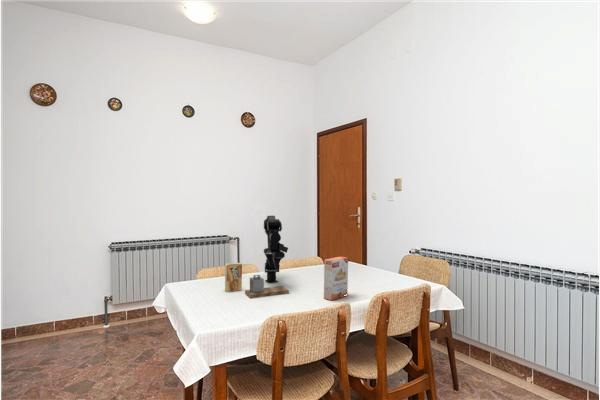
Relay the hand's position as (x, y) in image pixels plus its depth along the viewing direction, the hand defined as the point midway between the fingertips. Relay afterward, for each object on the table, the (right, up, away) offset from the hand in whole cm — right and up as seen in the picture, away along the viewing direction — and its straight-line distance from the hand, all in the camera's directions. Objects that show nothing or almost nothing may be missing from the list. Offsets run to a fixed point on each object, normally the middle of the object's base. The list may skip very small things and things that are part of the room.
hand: (273, 267), depth 209 cm
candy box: (-22, -12, -6) cm, 26 cm away
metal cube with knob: (-8, -10, -15) cm, 20 cm away
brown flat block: (-3, -12, -12) cm, 18 cm away
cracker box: (+35, -13, -19) cm, 41 cm away
